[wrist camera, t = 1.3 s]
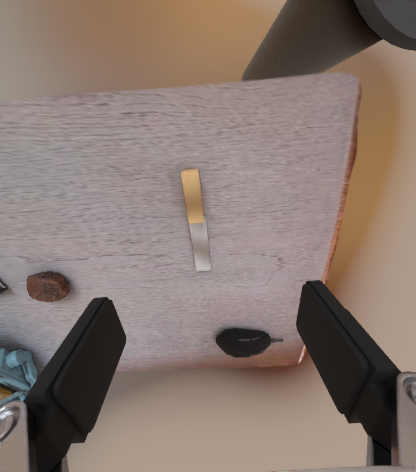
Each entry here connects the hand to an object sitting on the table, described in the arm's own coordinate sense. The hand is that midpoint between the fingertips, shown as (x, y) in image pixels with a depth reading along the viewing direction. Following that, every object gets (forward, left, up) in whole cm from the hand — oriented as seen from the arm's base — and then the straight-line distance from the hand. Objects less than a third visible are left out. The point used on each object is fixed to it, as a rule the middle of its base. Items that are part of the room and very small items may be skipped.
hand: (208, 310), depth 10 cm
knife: (+4, -2, -21) cm, 22 cm away
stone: (+13, -29, -21) cm, 38 cm away
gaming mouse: (+32, +6, -21) cm, 39 cm away
